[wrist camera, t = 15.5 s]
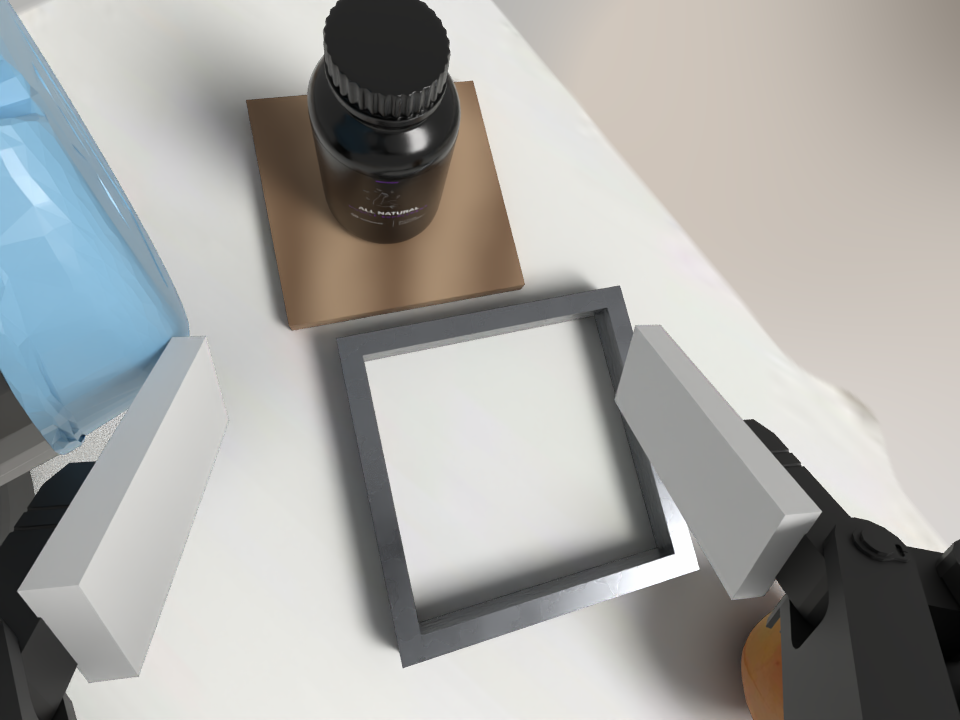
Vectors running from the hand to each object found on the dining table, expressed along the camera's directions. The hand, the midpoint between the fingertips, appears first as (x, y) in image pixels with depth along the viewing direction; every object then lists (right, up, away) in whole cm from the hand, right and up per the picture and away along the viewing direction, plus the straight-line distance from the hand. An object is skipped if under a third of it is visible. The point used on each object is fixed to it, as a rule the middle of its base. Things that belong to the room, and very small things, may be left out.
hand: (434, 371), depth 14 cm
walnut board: (-4, +10, +18) cm, 21 cm away
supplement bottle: (-5, +10, +17) cm, 20 cm away
